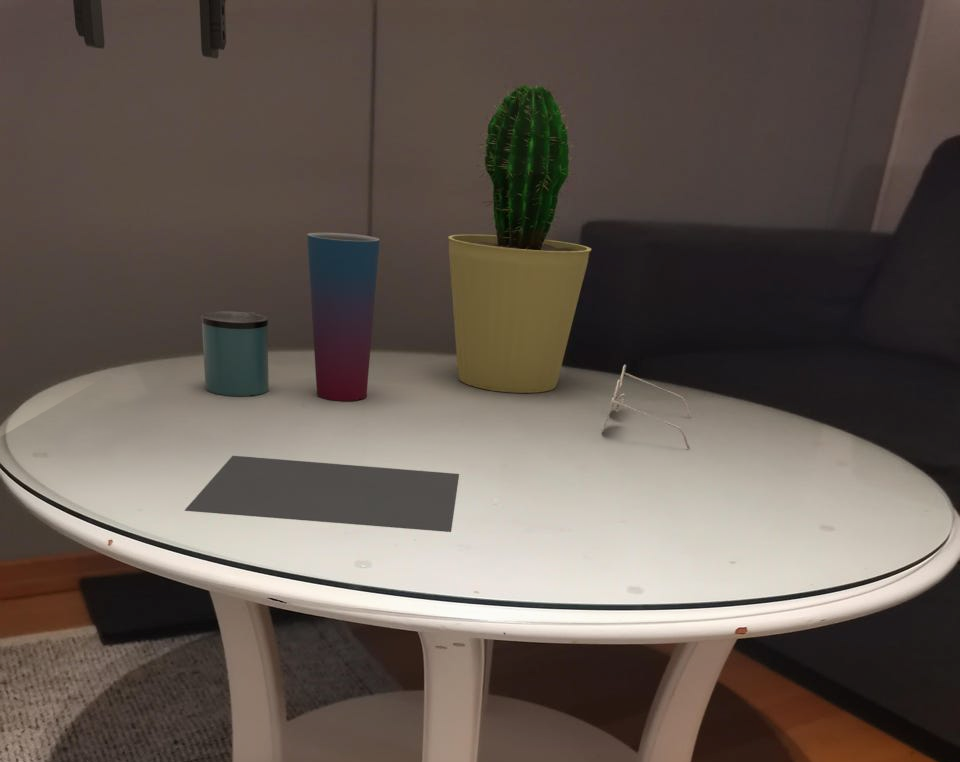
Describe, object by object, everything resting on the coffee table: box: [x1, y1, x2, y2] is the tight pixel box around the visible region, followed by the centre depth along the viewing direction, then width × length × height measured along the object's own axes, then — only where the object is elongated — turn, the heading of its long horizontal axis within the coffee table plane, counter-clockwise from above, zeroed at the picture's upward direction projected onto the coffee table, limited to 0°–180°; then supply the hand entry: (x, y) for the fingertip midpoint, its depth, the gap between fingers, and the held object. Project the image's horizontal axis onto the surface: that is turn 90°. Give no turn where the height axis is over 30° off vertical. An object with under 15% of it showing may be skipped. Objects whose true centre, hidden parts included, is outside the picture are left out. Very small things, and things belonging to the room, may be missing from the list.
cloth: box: [184, 455, 460, 533], centre depth 71 cm, size 18×13×1 cm
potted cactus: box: [447, 79, 592, 394], centre depth 104 cm, size 15×15×30 cm
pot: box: [200, 310, 270, 397], centre depth 99 cm, size 6×12×7 cm, turn 179°
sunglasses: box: [601, 364, 693, 450], centre depth 96 cm, size 14×8×5 cm, turn 168°
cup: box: [306, 232, 380, 402], centre depth 96 cm, size 7×7×15 cm
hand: (152, 52), depth 72 cm, fingers open, 8 cm apart
